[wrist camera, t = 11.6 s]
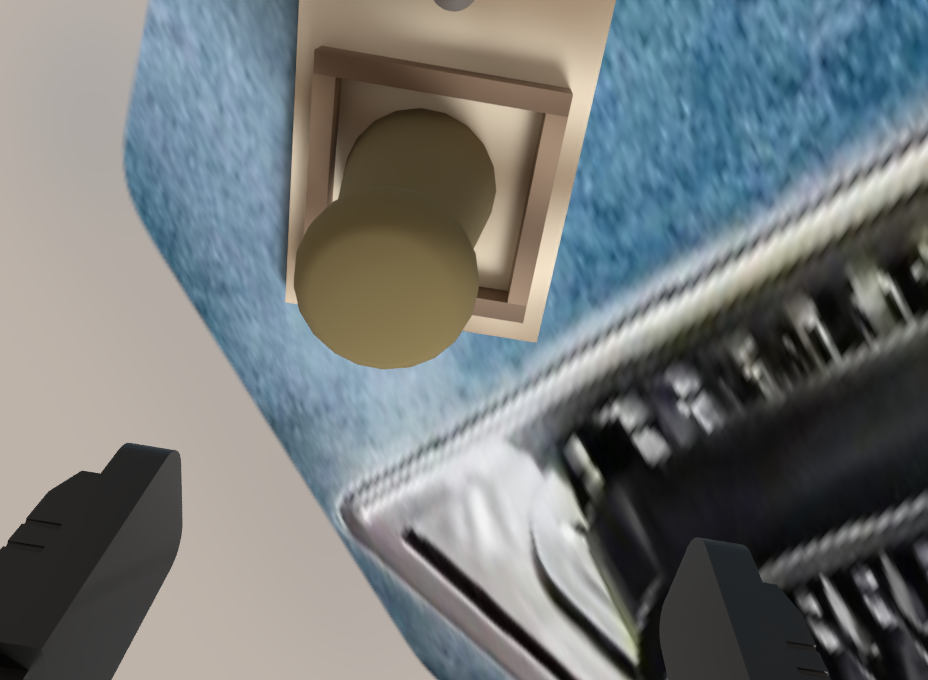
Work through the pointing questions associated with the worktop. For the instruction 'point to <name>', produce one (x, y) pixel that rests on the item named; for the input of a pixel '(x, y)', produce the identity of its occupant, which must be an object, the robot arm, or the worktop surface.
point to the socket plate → (457, 118)
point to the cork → (398, 242)
